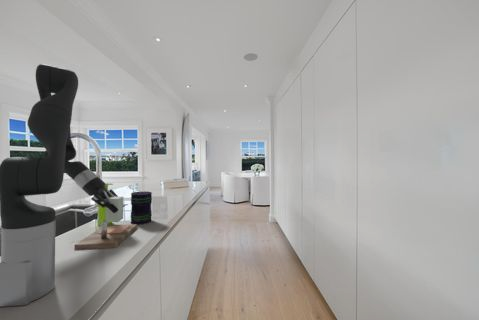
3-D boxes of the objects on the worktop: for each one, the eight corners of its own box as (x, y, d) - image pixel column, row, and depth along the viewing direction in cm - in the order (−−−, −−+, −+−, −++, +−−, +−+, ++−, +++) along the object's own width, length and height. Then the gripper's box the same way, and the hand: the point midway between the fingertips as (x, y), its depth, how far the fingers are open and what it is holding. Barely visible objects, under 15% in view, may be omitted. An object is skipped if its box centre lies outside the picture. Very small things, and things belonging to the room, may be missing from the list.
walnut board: (115, 247, 76) (116, 243, 76) (74, 249, 74) (74, 244, 74) (137, 227, 98) (137, 224, 98) (105, 228, 96) (105, 225, 96)
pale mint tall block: (118, 222, 88) (118, 198, 88) (105, 222, 87) (105, 198, 87) (123, 218, 93) (123, 196, 93) (111, 218, 92) (111, 196, 92)
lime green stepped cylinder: (116, 221, 106) (116, 183, 106) (106, 226, 99) (106, 184, 99) (105, 221, 106) (106, 182, 106) (95, 225, 99) (95, 184, 99)
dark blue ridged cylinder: (141, 218, 113) (141, 191, 113) (155, 220, 110) (156, 192, 110) (125, 223, 104) (126, 193, 103) (141, 225, 100) (141, 195, 100)
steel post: (105, 238, 80) (105, 222, 80) (99, 238, 80) (100, 222, 80) (107, 236, 82) (108, 220, 82) (102, 236, 82) (102, 220, 82)
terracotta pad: (121, 233, 86) (121, 232, 86) (97, 233, 85) (97, 233, 85) (129, 226, 95) (129, 225, 95) (108, 226, 94) (108, 226, 94)
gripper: (86, 178, 82) (118, 207, 84) (105, 174, 96) (132, 200, 98) (72, 191, 81) (104, 221, 83) (92, 186, 95) (120, 211, 97)
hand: (119, 209), depth 90 cm, fingers closed on pale mint tall block, 5 cm apart
